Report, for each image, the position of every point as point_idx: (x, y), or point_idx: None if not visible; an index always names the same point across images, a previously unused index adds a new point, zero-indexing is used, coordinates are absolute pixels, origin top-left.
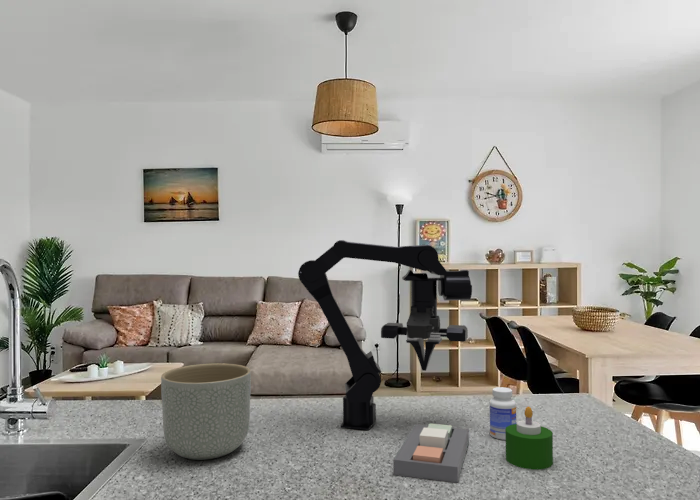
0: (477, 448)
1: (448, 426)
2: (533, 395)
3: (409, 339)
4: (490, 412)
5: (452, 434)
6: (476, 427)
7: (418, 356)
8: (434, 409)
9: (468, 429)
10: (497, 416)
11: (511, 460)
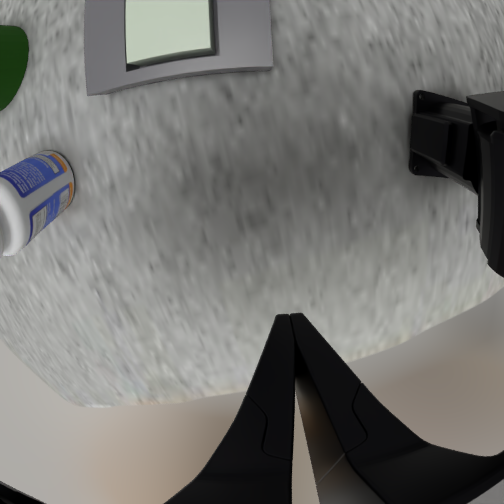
0: (80, 61)
1: (136, 47)
2: (117, 403)
3: (493, 489)
4: (31, 185)
5: (123, 21)
6: (118, 217)
7: (353, 383)
8: (264, 315)
9: (87, 90)
10: (15, 167)
11: (16, 27)
